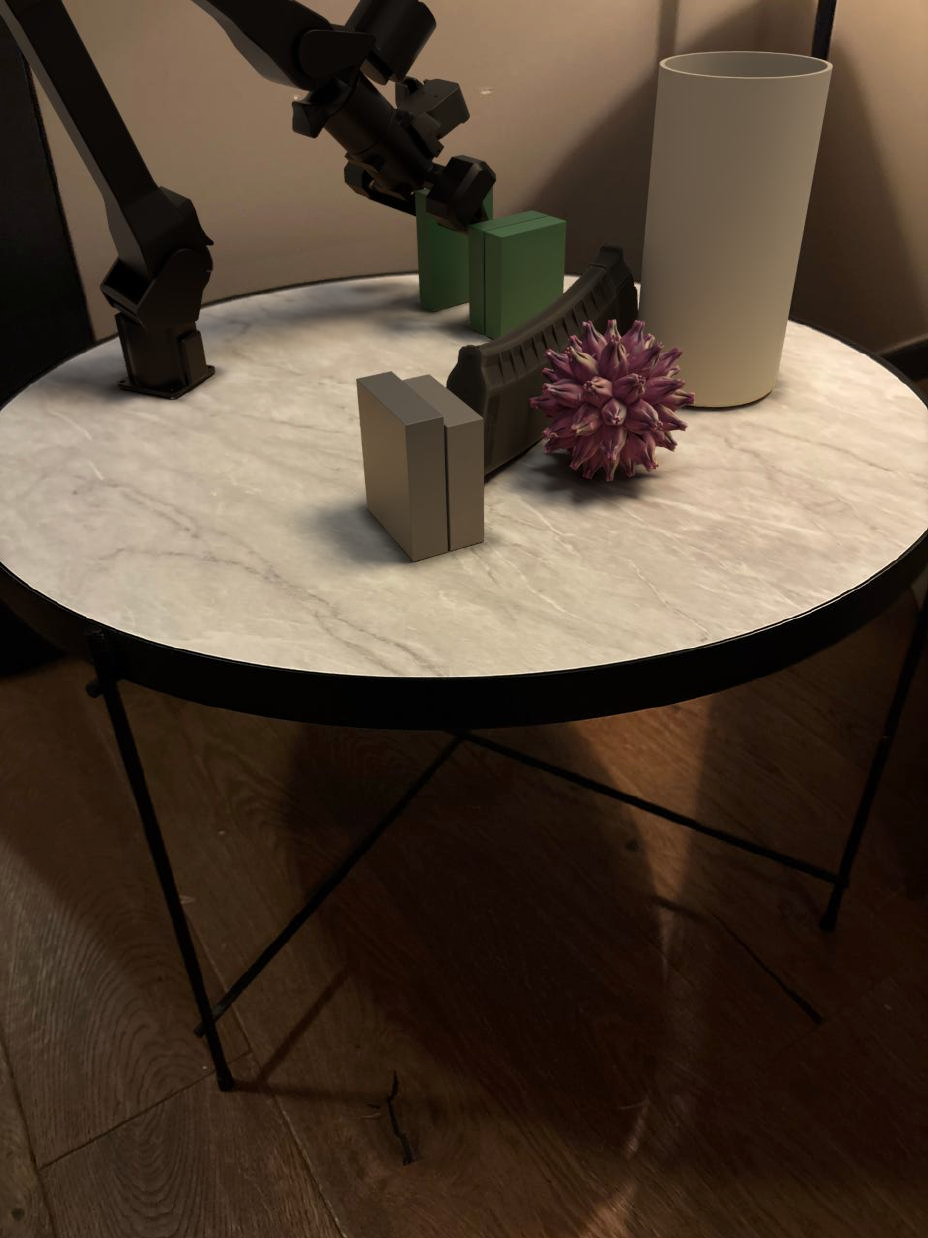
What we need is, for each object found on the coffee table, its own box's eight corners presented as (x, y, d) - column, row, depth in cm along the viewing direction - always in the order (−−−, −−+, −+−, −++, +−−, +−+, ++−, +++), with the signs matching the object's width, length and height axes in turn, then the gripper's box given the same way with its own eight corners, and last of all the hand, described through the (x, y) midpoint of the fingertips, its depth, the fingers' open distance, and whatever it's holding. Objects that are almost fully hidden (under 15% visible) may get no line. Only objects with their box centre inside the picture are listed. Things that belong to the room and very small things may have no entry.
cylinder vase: (634, 408, 86) (663, 78, 71) (630, 351, 96) (656, 51, 81) (785, 413, 85) (847, 78, 70) (766, 355, 95) (817, 50, 80)
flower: (517, 469, 81) (643, 410, 84) (596, 534, 72) (734, 466, 75) (487, 335, 74) (625, 275, 76) (570, 389, 65) (724, 319, 67)
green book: (432, 311, 106) (428, 195, 99) (419, 305, 107) (414, 190, 100) (493, 294, 109) (493, 181, 103) (479, 289, 111) (478, 177, 104)
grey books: (366, 508, 74) (355, 378, 68) (434, 490, 76) (428, 362, 70) (413, 562, 68) (405, 425, 62) (484, 541, 70) (483, 406, 64)
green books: (500, 342, 98) (500, 236, 92) (469, 328, 102) (467, 224, 96) (562, 323, 102) (566, 220, 96) (530, 310, 105) (532, 209, 100)
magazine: (453, 399, 67) (635, 164, 81) (412, 389, 68) (598, 159, 83) (490, 569, 80) (641, 340, 95) (455, 558, 82) (609, 334, 96)
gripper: (480, 62, 86) (569, 179, 98) (360, 39, 98) (453, 146, 110) (407, 175, 87) (505, 277, 99) (298, 138, 99) (397, 234, 111)
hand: (464, 229), depth 105 cm, fingers open, 8 cm apart
